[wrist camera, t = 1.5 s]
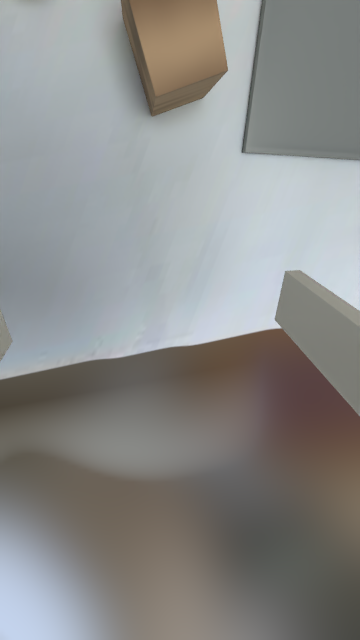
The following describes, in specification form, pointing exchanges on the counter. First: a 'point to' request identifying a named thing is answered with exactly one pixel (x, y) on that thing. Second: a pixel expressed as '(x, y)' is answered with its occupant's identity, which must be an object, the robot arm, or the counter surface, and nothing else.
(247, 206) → the counter surface
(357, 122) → the tray
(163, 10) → the walnut block
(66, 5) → the counter surface
